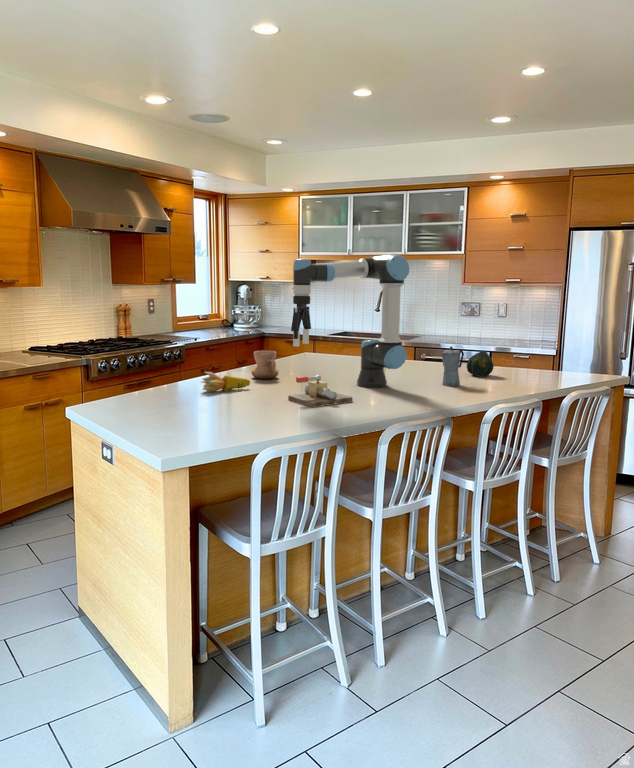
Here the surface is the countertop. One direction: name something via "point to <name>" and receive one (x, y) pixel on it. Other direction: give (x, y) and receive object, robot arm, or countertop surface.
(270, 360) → the ceramic jug
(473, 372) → the squash
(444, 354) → the moka pot
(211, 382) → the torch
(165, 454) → the countertop surface
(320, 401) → the mounting board
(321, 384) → the valve pipe
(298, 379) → the valve lever
